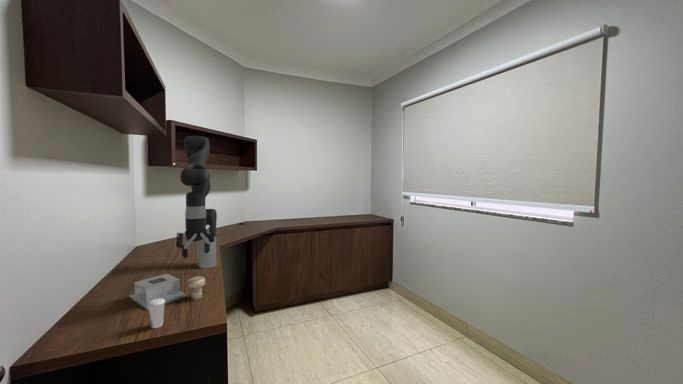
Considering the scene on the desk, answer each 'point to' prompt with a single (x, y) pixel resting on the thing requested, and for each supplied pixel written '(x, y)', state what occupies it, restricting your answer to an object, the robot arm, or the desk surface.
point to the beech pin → (196, 287)
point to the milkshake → (156, 312)
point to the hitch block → (157, 290)
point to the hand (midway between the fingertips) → (196, 255)
